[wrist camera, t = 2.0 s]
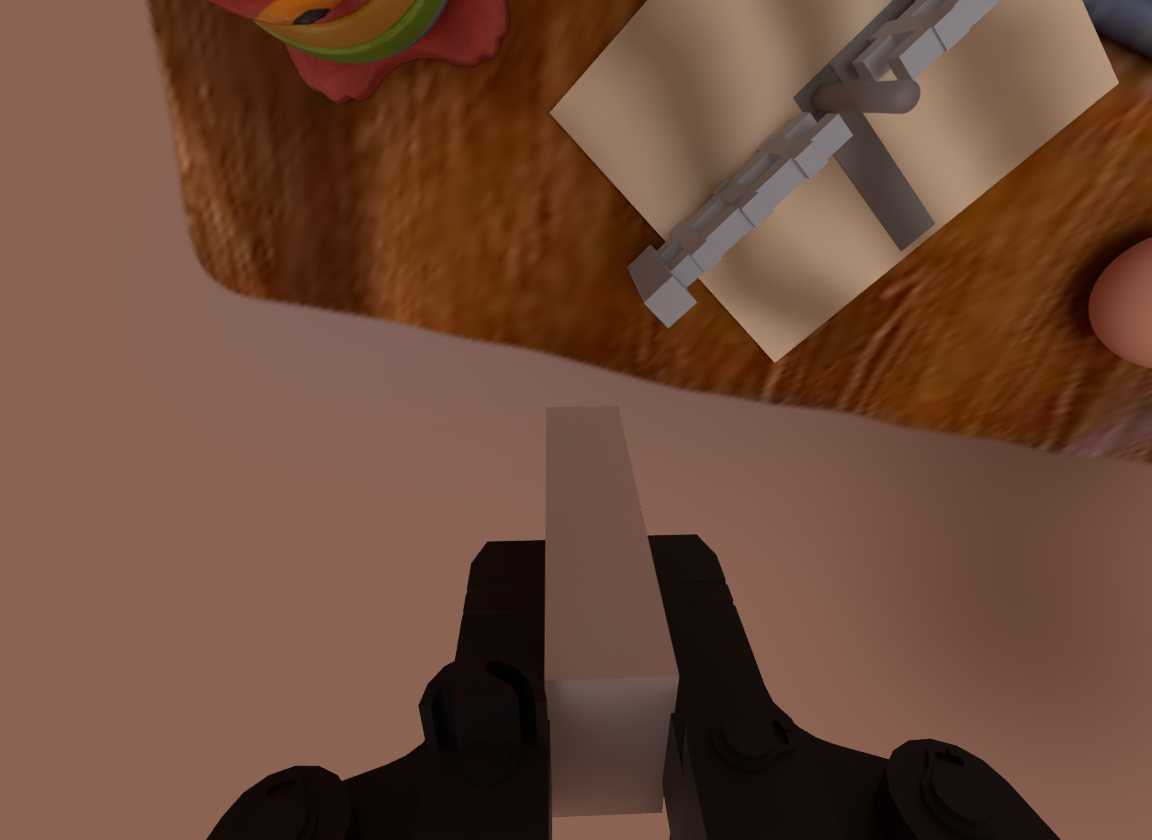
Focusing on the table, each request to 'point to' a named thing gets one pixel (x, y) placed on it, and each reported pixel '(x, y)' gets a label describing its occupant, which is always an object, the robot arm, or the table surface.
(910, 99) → the fixed fence panel
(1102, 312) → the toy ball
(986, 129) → the board
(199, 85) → the table surface
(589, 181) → the table surface
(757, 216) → the gray castle wall
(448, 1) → the stacking bear
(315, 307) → the table surface
